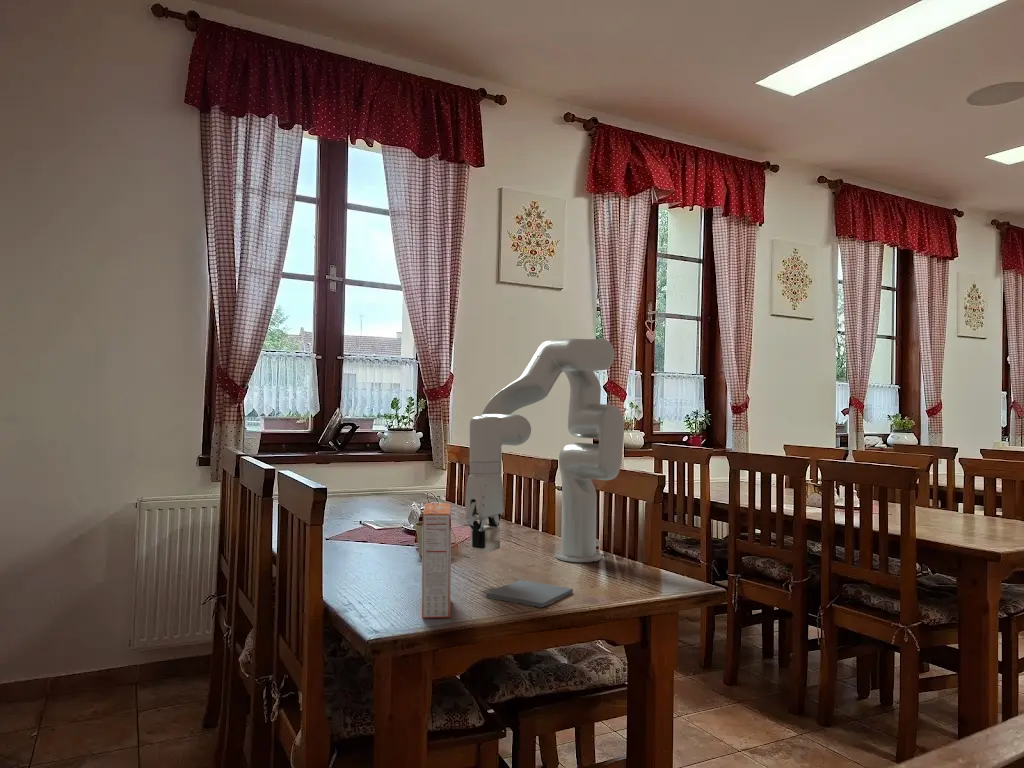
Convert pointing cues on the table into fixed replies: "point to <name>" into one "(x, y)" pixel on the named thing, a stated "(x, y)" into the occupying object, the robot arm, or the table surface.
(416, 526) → the flower pot
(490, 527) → the cream cube
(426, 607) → the cracker box
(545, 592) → the slate board
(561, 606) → the table surface
